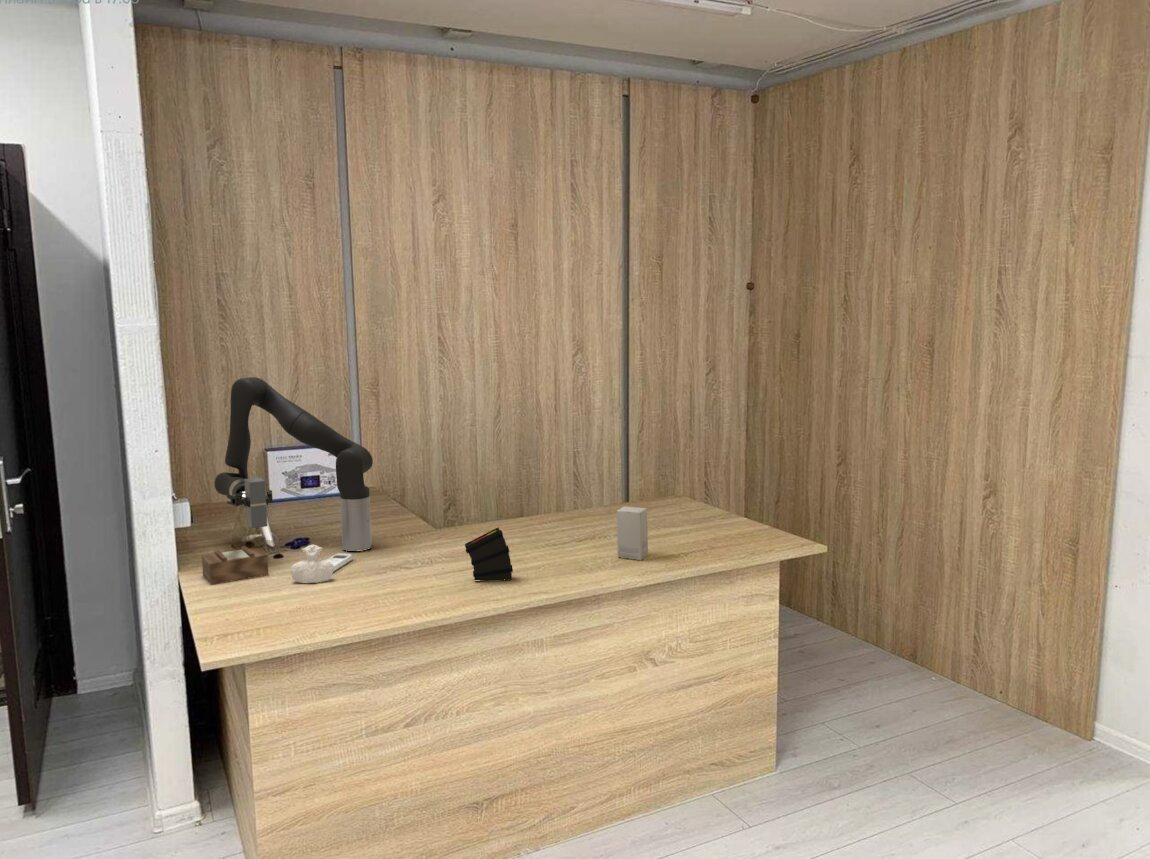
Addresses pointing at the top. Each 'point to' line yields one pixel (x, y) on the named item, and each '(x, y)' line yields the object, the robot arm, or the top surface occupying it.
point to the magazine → (490, 556)
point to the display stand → (234, 565)
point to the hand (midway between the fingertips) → (258, 502)
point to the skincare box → (632, 533)
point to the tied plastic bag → (312, 567)
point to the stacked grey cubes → (256, 502)
